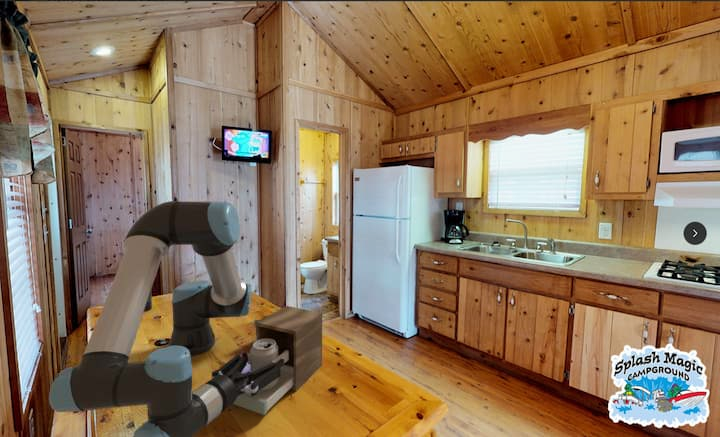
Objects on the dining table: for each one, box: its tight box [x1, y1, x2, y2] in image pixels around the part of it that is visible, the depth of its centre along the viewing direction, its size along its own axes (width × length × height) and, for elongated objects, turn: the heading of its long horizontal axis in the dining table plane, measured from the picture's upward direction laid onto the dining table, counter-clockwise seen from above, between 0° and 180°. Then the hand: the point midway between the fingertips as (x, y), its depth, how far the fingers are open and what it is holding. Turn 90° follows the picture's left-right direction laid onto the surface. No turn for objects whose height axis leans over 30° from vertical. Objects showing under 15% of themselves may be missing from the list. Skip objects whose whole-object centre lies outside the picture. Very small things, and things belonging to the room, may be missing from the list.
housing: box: [256, 305, 323, 392], centre depth 99 cm, size 14×15×18 cm
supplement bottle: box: [144, 290, 153, 313], centre depth 147 cm, size 7×7×12 cm
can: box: [249, 339, 278, 391], centre depth 87 cm, size 8×8×12 cm
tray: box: [232, 365, 294, 416], centre depth 89 cm, size 12×18×3 cm
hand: (275, 351), depth 92 cm, fingers closed on can, 7 cm apart
